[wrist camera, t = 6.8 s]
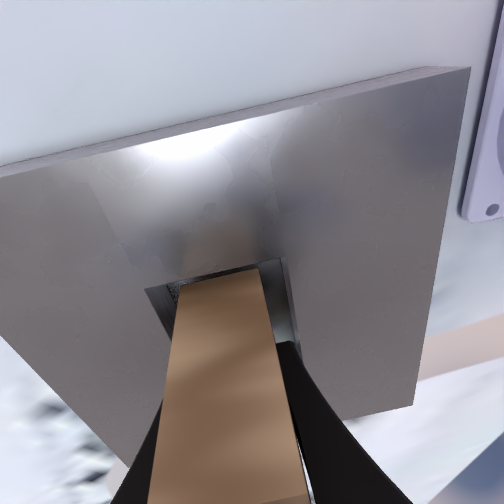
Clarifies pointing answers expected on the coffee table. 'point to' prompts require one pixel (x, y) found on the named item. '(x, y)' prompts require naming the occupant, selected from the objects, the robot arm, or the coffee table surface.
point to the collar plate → (236, 243)
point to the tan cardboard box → (225, 403)
